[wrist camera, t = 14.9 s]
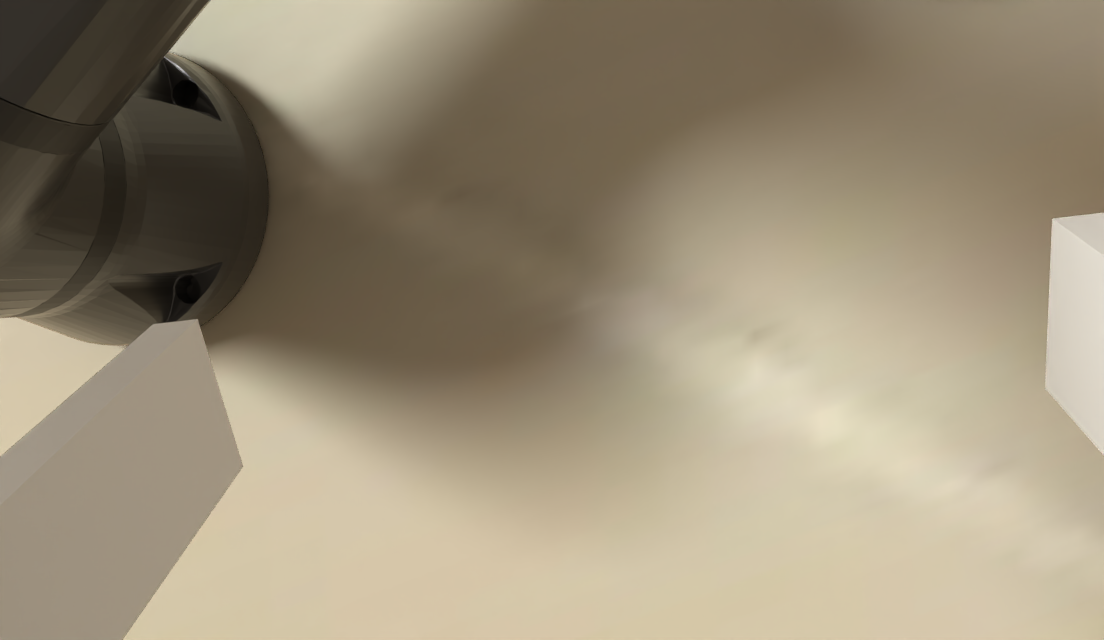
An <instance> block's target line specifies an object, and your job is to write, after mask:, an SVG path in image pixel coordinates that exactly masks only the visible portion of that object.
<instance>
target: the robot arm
mask: <svg viewBox="0 0 1104 640" xmlns="http://www.w3.org/2000/svg"><path fill="white" fill-rule="evenodd" d="M209 2H210V0H0V318H8V317H17V318H20V319H22V320H25V321H28V322H30V323H33V324H36V325H39V326H41V327H44V328H47V329H49V330H52V331H55V332H58V333H60V334H63V335H66V336H68V337H71V338H74V339H77V340H80V341H84V342H88V343H94V344H101V345H112V346H122V345H129V346H127V347H126V348H125V349H124V350H123V351H122V352H121V353H119V354H118V355H117V356H116V357H115V358H114V359H112V360H111V361H110V362H109V363H108V364H107V365H106V366H104V367H103V368H102V369H101V370H100V371H99V372H97V373H96V374H95V375H94V376H93V377H92V378H90V379H89V380H88V381H87V382H86V383H85V384H84V385H82V386H81V387H80V388H79V389H78V390H77V391H75V392H74V393H73V394H72V395H71V396H70V397H69V398H67V399H66V400H65V401H64V402H63V403H62V404H60V405H59V406H58V407H57V408H56V409H55V410H54V411H52V412H51V413H50V414H49V415H48V416H47V417H45V418H44V419H43V420H42V421H41V422H40V423H39V424H37V425H36V426H35V427H34V428H33V429H32V430H30V431H29V432H28V433H27V434H26V435H25V436H23V437H22V438H21V439H20V440H19V441H18V442H17V443H15V444H14V445H13V446H12V447H11V448H10V449H8V450H7V451H6V452H5V453H4V454H3V455H2V456H0V640H123V638H124V637H125V636H126V634H127V633H128V631H129V630H130V628H131V627H132V625H133V624H134V623H135V621H136V620H137V618H138V617H139V615H140V614H141V613H142V611H143V610H144V608H145V607H146V605H147V604H148V602H149V601H150V600H151V598H152V597H153V595H154V594H155V592H156V591H157V590H158V588H159V587H160V585H161V584H162V582H163V581H164V579H165V578H166V577H167V575H168V574H169V572H170V571H171V569H172V568H173V567H174V565H175V564H176V562H177V561H178V559H179V558H180V556H181V555H182V554H183V552H184V551H185V549H186V548H187V546H188V545H189V544H190V542H191V541H192V539H193V538H194V536H195V535H196V533H197V532H198V531H199V529H200V528H201V526H202V525H203V523H204V522H205V521H206V519H207V518H208V516H209V515H210V513H211V512H212V510H213V509H214V508H215V506H216V505H217V503H218V502H219V500H220V499H221V498H222V496H223V495H224V493H225V492H226V490H227V489H228V487H229V486H230V485H231V483H232V482H233V480H234V479H235V477H236V476H237V475H238V473H239V472H240V470H241V469H242V467H243V464H242V461H241V458H240V454H239V451H238V448H237V445H236V441H235V438H234V435H233V432H232V428H231V425H230V422H229V419H228V416H227V412H226V409H225V406H224V403H223V399H222V396H221V393H220V390H219V386H218V383H217V380H216V377H215V373H214V370H213V367H212V364H211V361H210V357H209V354H208V351H207V348H206V344H205V341H204V338H203V335H202V331H201V328H200V326H201V325H203V324H204V323H206V322H207V321H209V320H210V319H212V318H213V317H214V316H215V315H216V314H218V313H219V312H220V311H221V310H222V309H223V308H224V307H225V306H226V305H227V304H228V303H229V302H230V301H231V300H232V299H233V297H234V296H235V295H236V293H237V292H238V291H239V290H240V288H241V287H242V285H243V283H244V282H245V280H246V279H247V277H248V275H249V273H250V272H251V269H252V267H253V265H254V263H255V261H256V258H257V256H258V253H259V250H260V247H261V244H262V241H263V236H264V232H265V227H266V221H267V212H268V181H267V172H266V167H265V161H264V157H263V153H262V150H261V147H260V144H259V141H258V138H257V135H256V133H255V131H254V128H253V126H252V124H251V122H250V120H249V118H248V117H247V115H246V113H245V111H244V110H243V108H242V107H241V105H240V104H239V102H238V101H237V100H236V99H235V97H234V96H233V95H232V93H231V92H230V91H229V90H228V89H227V88H226V87H225V86H224V85H223V84H222V83H221V82H220V81H219V80H218V79H217V78H216V77H214V76H213V75H212V74H210V73H209V72H208V71H206V70H205V69H203V68H202V67H200V66H199V65H197V64H195V63H193V62H192V61H190V60H188V59H185V58H183V57H181V56H178V55H175V54H172V53H170V52H169V50H170V49H171V48H172V47H173V45H174V44H175V43H176V42H177V41H178V39H179V38H180V37H181V36H182V35H183V33H184V32H185V31H186V30H187V28H188V27H189V26H190V25H191V24H192V22H193V21H194V20H195V19H196V17H197V16H198V15H199V14H200V13H201V11H202V10H203V9H204V8H205V6H206V5H207V4H208V3H209ZM1045 389H1046V390H1047V391H1048V392H1049V394H1050V395H1051V396H1052V397H1053V398H1054V399H1055V400H1056V402H1057V403H1058V404H1059V405H1060V406H1061V407H1062V408H1063V410H1064V411H1065V412H1066V413H1067V414H1068V415H1069V416H1070V418H1071V419H1072V420H1073V421H1074V422H1075V423H1076V424H1077V425H1078V427H1079V428H1080V429H1081V430H1082V431H1083V432H1084V433H1085V435H1086V436H1087V437H1088V438H1089V439H1090V440H1091V441H1092V443H1093V444H1094V445H1095V446H1096V447H1097V448H1098V449H1099V451H1100V452H1101V453H1102V454H1103V455H1104V212H1103V213H1095V214H1086V215H1078V216H1069V217H1061V218H1052V235H1051V258H1050V282H1049V305H1048V328H1047V352H1046V375H1045Z"/></svg>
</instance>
